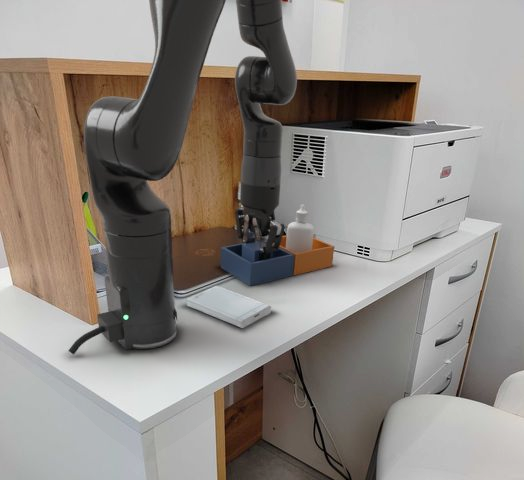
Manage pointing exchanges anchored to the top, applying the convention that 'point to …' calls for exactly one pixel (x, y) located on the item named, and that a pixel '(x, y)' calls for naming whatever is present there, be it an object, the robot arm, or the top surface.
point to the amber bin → (311, 256)
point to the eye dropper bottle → (300, 233)
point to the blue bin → (256, 265)
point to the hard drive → (229, 306)
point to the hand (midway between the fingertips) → (256, 265)
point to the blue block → (252, 251)
